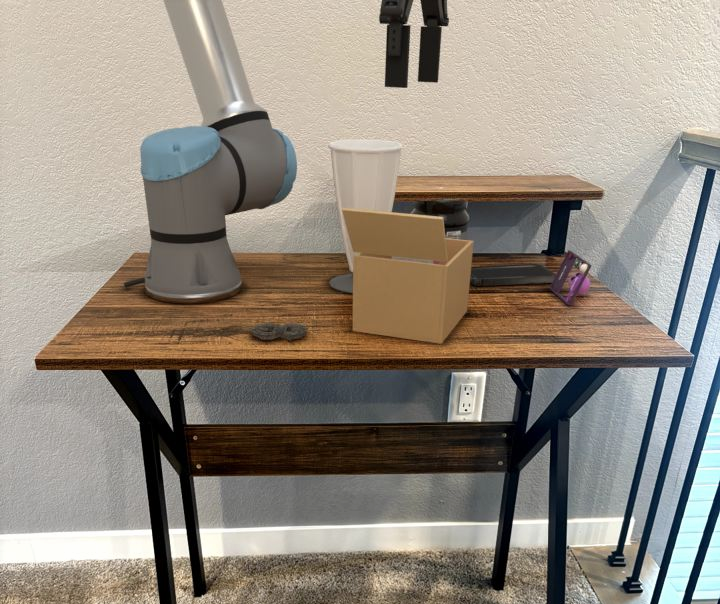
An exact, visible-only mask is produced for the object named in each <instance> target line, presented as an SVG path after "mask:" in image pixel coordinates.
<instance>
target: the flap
mask: <svg viewBox="0 0 720 604" xmlns="http://www.w3.org/2000/svg"><path fill="white" fill-rule="evenodd" d="M342 212H343V216H344V219H345V223H346V227H347V231H348V234H349V238H350V242H351V246H352V249H353V252H359V253H368V254H377V255H386V256H395V257H404V258H413V259H422V260H431V261H440V262H447V261H448V257H447V248H446V239H445V229H444V220H443V217H437V216H427V215H416V214H411V213H404V212H393V211H392V212H383V211H373V210H362V209H351V208H343V209H342Z"/></svg>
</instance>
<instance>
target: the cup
mask: <svg viewBox="0 0 720 604" xmlns="http://www.w3.org/2000/svg"><path fill="white" fill-rule="evenodd" d="M327 147H328V148H329V149H330V156H331V167H332V176H333V186H334V193H335V202H336V208H337V214H338V221H339V228H340V233H341V238H342V243H343V249H344V253H345V256H346V259H347V263H348V267H349V268H348V269H349V272H350V273H346V274H340V275H336V276H335V277H333V278H330V280H329V282H328V284H329V286H330V287H331V288H332V289H334V290H336V291H338V292H342V293H347V294H352V295H353V256H354V255H355V254H357V253H358V252H353V249H352V246H351V242H350V238H349V234H348V231H347V227H346V223H345V219H344V216H343V212H342V209H343V208H351V209H362V210H373V211H383V212H393V207H394V203H395V202H394V201H395V197H396V191H397V185H398V176H399V170H400V162H401V154H402V153H401V152H402V149H403V144H402V143H401V142H398V141H393V140H386V139H372V138H371V139H370V138H352V139H351V138H349V139H338V140H333V141H331V142H329V143H328V145H327Z"/></svg>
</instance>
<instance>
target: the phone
mask: <svg viewBox="0 0 720 604" xmlns="http://www.w3.org/2000/svg"><path fill="white" fill-rule="evenodd" d="M556 274H557V273H555V272H553V271H552V270H550V269H549V268H547V267H546V266H544V265H542V264H539V263H530V264H529V263H526V264H506V265H505V264H503V265H480V266H478V265H477V266H471V274H470V285H472V286H475V287H488V286H509V285H510V286H511V285H527V284H528V285H529V284H530V285H532V284H549V283H550V284H552V282H553V280H554V278H555V276H556Z"/></svg>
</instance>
